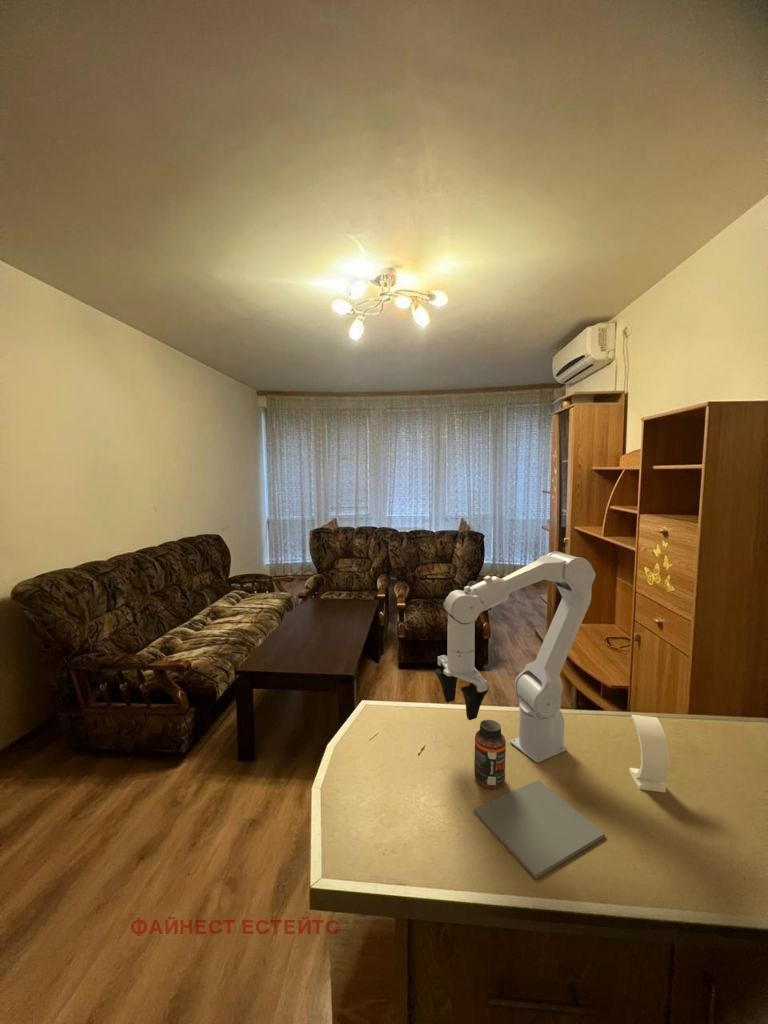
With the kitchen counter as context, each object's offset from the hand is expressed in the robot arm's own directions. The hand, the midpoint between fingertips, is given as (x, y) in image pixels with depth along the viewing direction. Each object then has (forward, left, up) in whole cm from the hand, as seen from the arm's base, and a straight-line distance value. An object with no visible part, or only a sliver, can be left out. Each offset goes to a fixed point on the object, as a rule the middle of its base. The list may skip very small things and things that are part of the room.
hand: (460, 709), depth 88 cm
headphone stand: (-28, +24, -11) cm, 38 cm away
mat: (-1, +21, -10) cm, 23 cm away
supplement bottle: (-1, +9, -11) cm, 14 cm away
